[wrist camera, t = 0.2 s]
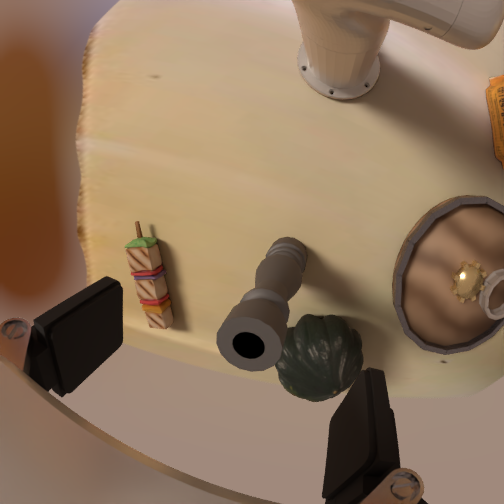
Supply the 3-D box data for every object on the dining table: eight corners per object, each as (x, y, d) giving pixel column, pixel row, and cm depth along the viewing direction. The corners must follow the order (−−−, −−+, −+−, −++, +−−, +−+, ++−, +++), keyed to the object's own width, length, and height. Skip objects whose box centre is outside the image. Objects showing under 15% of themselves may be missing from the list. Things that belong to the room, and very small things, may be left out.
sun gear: (459, 254, 38) (463, 256, 37) (488, 266, 37) (492, 269, 36) (443, 293, 40) (446, 297, 39) (472, 303, 39) (475, 307, 38)
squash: (246, 357, 48) (286, 429, 37) (291, 290, 43) (351, 365, 32) (302, 355, 56) (342, 412, 45) (345, 299, 51) (397, 356, 40)
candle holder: (313, 265, 46) (297, 364, 23) (279, 279, 48) (234, 379, 25) (297, 230, 45) (264, 303, 22) (262, 246, 47) (200, 325, 24)
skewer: (181, 319, 56) (169, 332, 51) (155, 318, 58) (142, 330, 53) (158, 216, 51) (143, 222, 46) (131, 220, 52) (115, 226, 48)
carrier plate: (425, 169, 37) (433, 169, 34) (537, 228, 33) (547, 233, 29) (366, 326, 47) (369, 338, 43) (478, 356, 42) (485, 366, 39)
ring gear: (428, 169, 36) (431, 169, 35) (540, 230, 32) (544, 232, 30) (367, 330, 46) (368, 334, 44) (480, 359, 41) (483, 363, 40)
